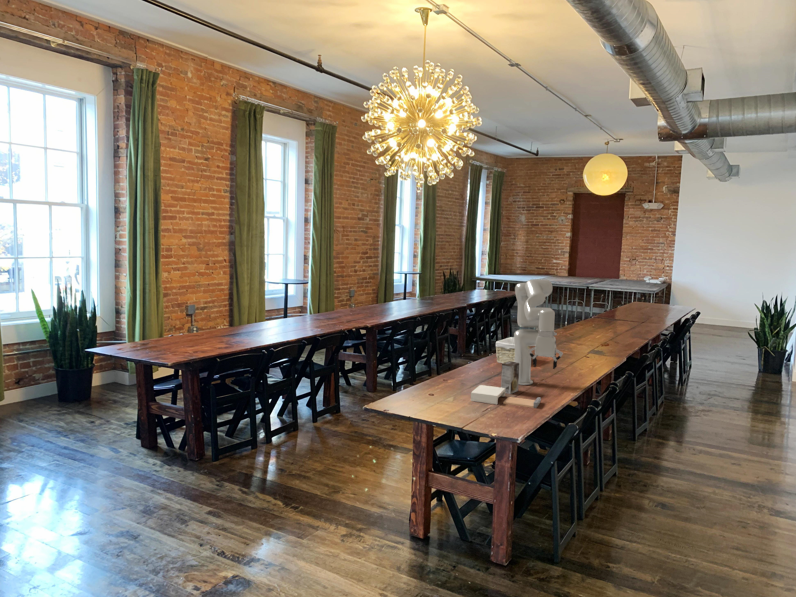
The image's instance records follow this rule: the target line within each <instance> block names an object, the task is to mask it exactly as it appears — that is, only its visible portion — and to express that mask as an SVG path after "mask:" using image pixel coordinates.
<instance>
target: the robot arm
mask: <svg viewBox="0 0 796 597" xmlns="http://www.w3.org/2000/svg"><path fill="white" fill-rule="evenodd" d="M514 292H515V293H514V294H515V297H516V301H517V325H518V327H520V328H522V329H517V330H515V331H514V333H513V337H514V342H515V362H516V363H519V384H518V386H519V385H520V386H527V385H528V386H529V385H532V384H533V383H534V382H533V380H532V379H531V374H532V373H531V369H532V365H533V367H534V368H535V367H537V364H538V363H537V362H538V361H537V360H538V359H537V357H545V358H552V359H553V363H552V369H553V370H555V369H556V368H557V366H558V361H559V360H560V359H561V358H562V356H563V354H564V352H563V351H561V350H559V349H558V348H557V340H556V336H557V334H558V333H557V332H555V318H556V316H555V315H556V313H555V310H553V309H552V308H551V307H539V306H541V305H542V304H544V303H545V301H546V297H548V296H550V295H551V294H552V292H553V284H552V281H551V280H549V279H544V278H543V279H541V278H537V279H536V278H535V279H533V278H532V279H528V280H527V281H526V282H519V283H517V284H516V285H515V287H514ZM523 328H525V329H523ZM526 328H535V329H526ZM527 346H530V347H531V348H529V349H528V348H527ZM533 351H534V353H533ZM557 354H558V355H557ZM556 355H557V356H556Z"/></svg>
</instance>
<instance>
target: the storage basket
mask: <svg viewBox="0 0 796 597" xmlns="http://www.w3.org/2000/svg"><path fill="white" fill-rule="evenodd" d="M530 347H531V346H527V348H528V349H531V348H530ZM495 350H496V352H495V353H496V362H497V363H498V364H503V363H506V362H509V361H512V362H515V342H514V336H513V337H512V336H511V337H506V338H504V339H500V340H497V341H496V342H495Z"/></svg>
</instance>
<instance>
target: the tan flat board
mask: <svg viewBox="0 0 796 597" xmlns="http://www.w3.org/2000/svg"><path fill="white" fill-rule="evenodd" d="M541 400H542V398H541V397H539V396H538V397H536V399H530V398H521V397H514V396H507V398H506V399H505V400H504V401H503V402H502V403H503V405H509V406H517V407H523V408H524V407H525V408H531V409H537V408H538V407H539V405H540V404H541V402H542V401H541Z"/></svg>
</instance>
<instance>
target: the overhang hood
mask: <svg viewBox="0 0 796 597" xmlns="http://www.w3.org/2000/svg"><path fill="white" fill-rule="evenodd" d="M500 397H506V393H505V388H501V386H500V387H499V386H491V385H485V384H479V385H478V386H477V387H476V388H474V389H473V390H472V391H471V392H470V401H471V402H478V403H483V404H491V405H498V401H499V398H500Z"/></svg>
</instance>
